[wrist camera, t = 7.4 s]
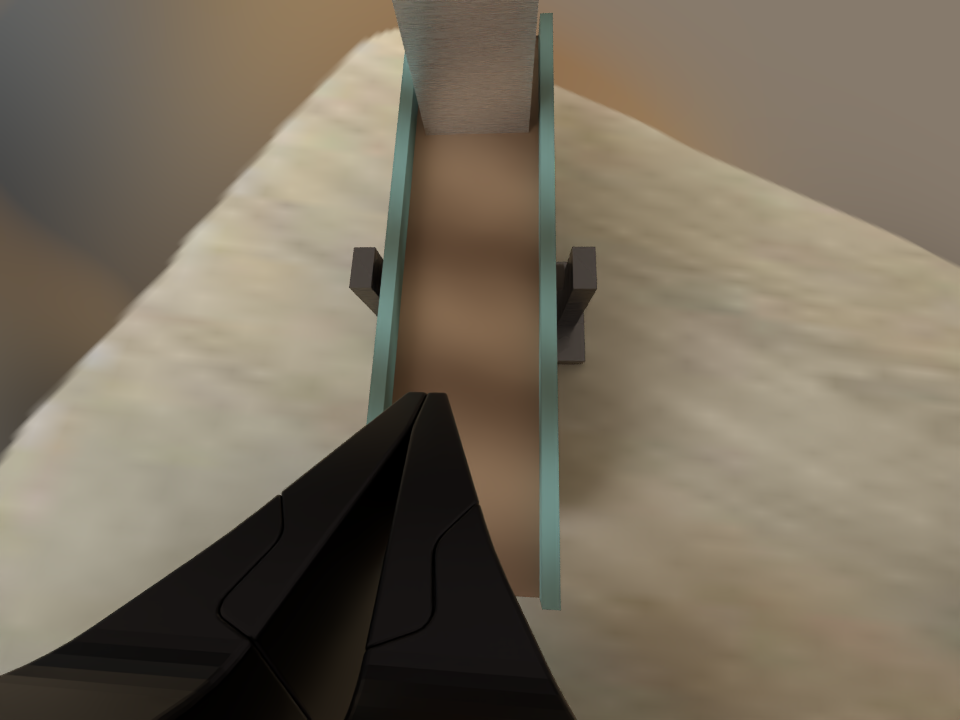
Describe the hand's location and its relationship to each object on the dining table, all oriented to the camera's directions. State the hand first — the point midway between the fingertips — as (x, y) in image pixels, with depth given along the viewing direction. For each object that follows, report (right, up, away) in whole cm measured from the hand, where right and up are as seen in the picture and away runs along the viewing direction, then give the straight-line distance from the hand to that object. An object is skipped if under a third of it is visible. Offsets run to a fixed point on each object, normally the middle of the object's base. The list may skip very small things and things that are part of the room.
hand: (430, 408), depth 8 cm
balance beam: (+1, +4, +12) cm, 13 cm away
